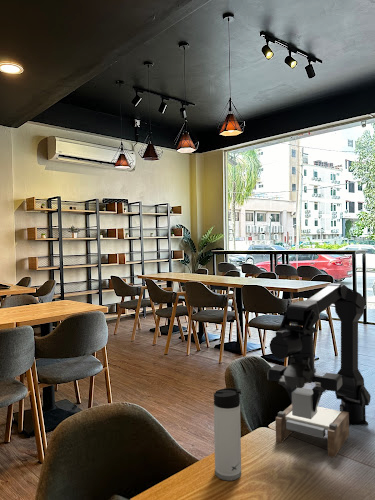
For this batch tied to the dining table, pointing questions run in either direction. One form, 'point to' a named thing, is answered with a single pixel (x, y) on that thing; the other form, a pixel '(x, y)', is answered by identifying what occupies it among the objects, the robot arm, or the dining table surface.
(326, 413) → the trapdoor
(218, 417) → the travel mug
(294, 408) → the light gray block
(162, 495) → the dining table surface
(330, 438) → the trapdoor frame
